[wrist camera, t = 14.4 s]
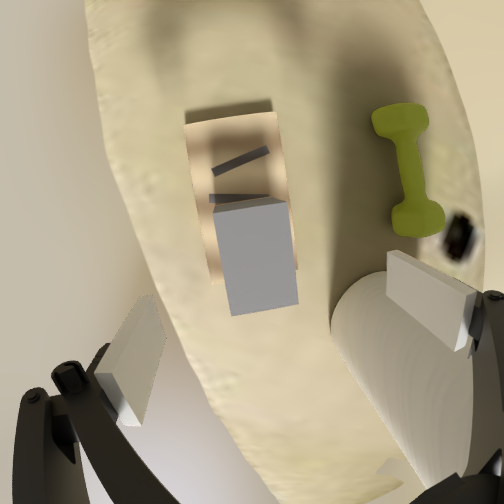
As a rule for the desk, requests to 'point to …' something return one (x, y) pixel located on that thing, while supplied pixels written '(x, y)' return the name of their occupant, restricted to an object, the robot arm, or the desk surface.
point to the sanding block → (256, 254)
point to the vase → (408, 378)
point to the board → (234, 170)
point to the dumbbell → (409, 169)
